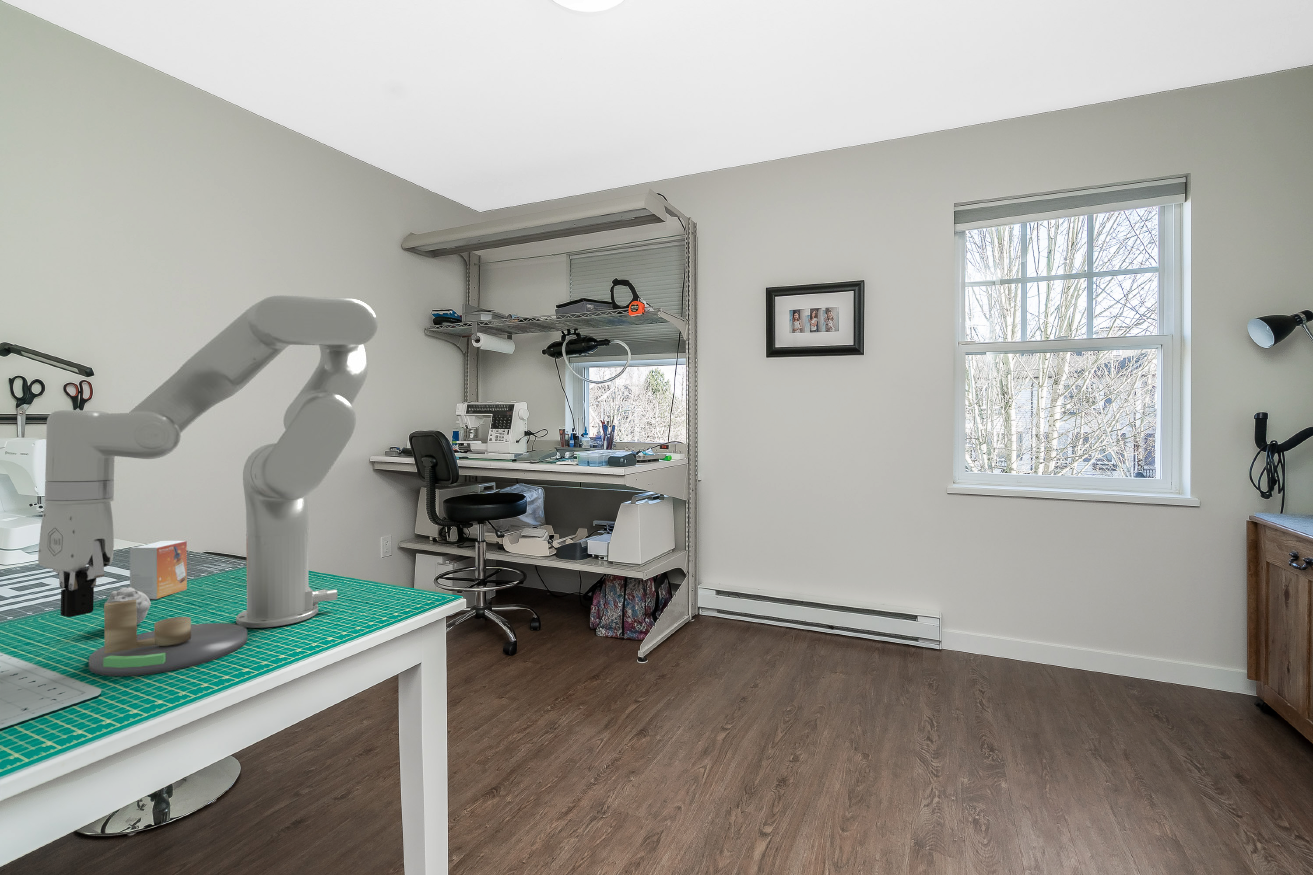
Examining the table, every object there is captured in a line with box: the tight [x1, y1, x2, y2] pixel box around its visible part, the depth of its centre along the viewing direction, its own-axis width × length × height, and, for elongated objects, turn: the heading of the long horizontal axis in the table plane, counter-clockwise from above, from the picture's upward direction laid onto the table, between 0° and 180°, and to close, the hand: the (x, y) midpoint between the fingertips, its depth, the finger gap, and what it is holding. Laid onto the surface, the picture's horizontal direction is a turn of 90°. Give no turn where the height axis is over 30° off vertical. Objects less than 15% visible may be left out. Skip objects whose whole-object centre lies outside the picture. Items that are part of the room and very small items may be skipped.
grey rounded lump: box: [104, 586, 152, 625], centre depth 104 cm, size 6×7×7 cm
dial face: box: [88, 622, 248, 677], centre depth 93 cm, size 19×19×2 cm
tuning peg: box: [103, 599, 192, 654], centre depth 91 cm, size 10×4×7 cm, turn 129°
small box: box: [129, 540, 188, 600], centre depth 125 cm, size 8×6×10 cm
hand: (77, 613), depth 91 cm, fingers closed
